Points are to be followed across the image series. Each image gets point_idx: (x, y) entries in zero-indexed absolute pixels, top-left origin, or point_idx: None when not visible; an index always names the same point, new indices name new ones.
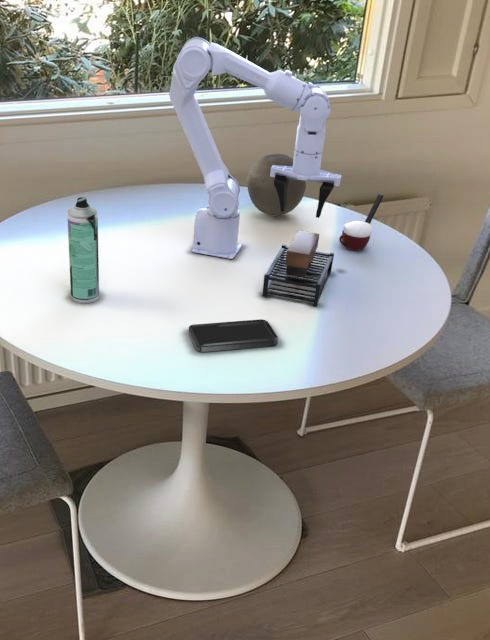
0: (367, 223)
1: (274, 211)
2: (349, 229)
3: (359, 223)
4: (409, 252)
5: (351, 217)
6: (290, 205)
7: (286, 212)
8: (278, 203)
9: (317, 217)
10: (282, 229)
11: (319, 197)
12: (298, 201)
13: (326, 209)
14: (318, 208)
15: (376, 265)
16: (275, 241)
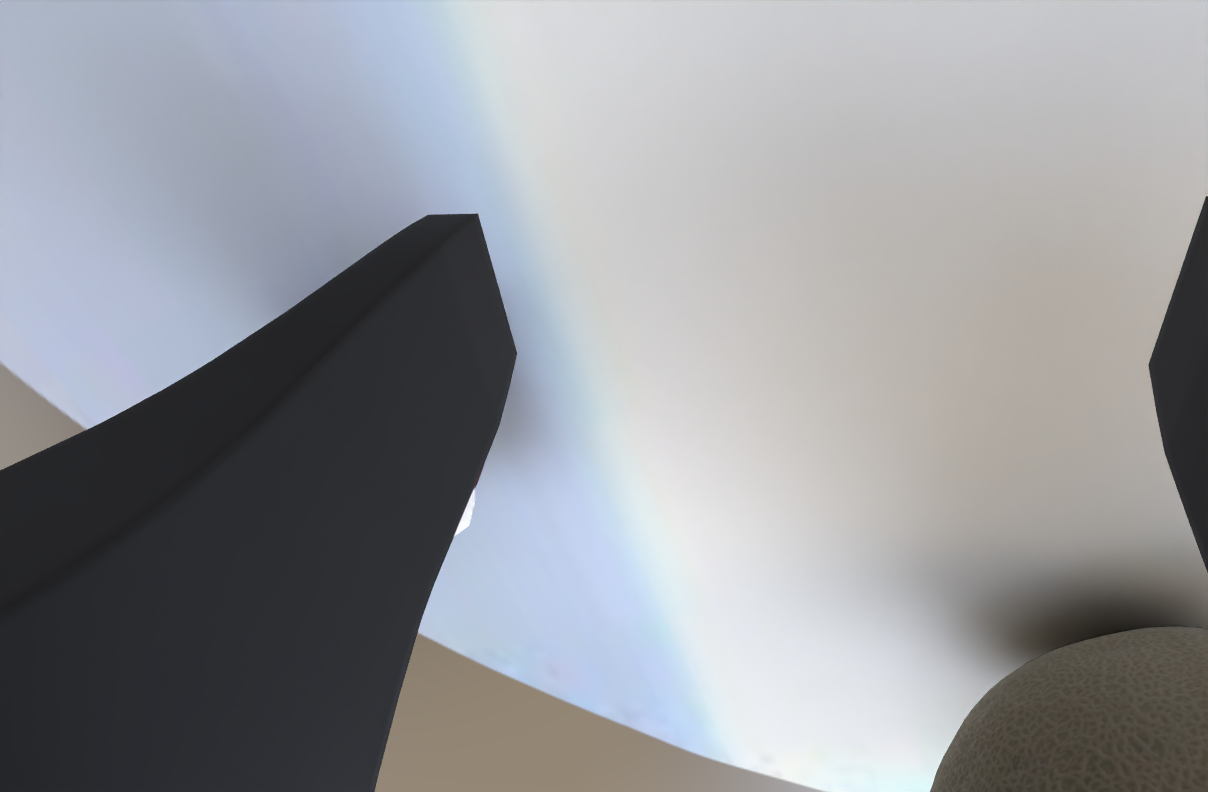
0: None
1: (1162, 641)
2: None
3: None
4: (114, 410)
5: (613, 693)
6: (1020, 704)
7: (1038, 657)
8: (1158, 702)
9: (447, 215)
10: (1042, 474)
11: (178, 479)
12: (954, 754)
13: (776, 744)
14: (356, 303)
15: (110, 129)
16: (1101, 234)
